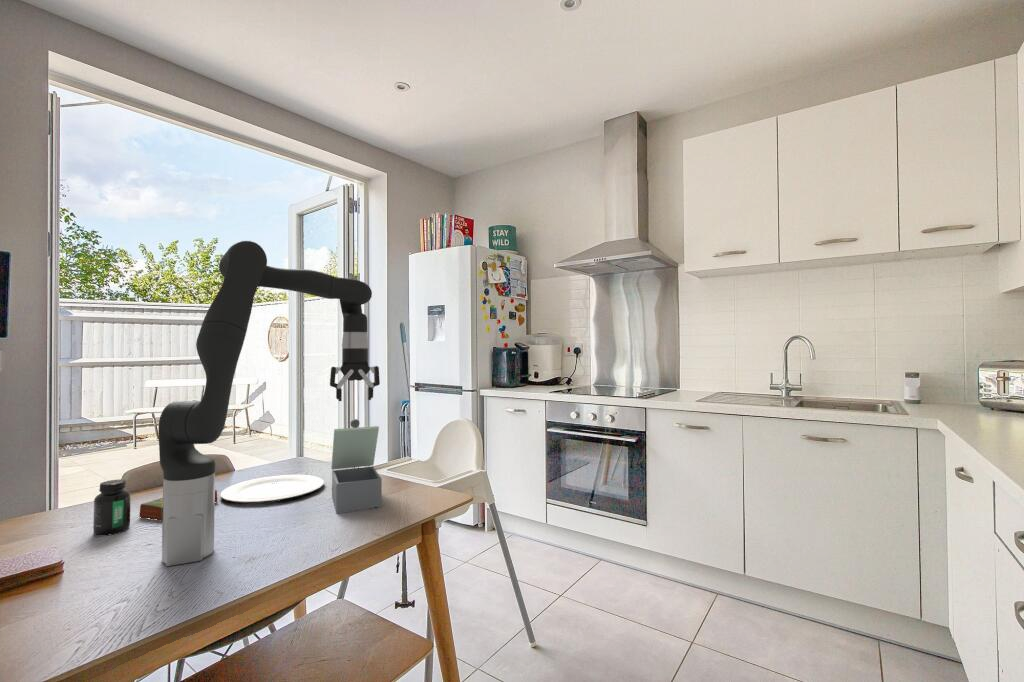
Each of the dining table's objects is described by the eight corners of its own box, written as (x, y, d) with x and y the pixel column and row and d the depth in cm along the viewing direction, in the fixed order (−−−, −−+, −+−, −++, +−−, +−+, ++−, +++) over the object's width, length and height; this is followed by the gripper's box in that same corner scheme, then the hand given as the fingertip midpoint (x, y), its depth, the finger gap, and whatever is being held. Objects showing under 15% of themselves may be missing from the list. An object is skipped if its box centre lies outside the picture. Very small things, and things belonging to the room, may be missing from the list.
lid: (378, 428, 137) (376, 413, 141) (334, 431, 131) (333, 416, 136) (373, 465, 145) (371, 450, 150) (331, 469, 140) (330, 454, 144)
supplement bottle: (125, 533, 112) (126, 483, 112) (88, 538, 109) (90, 487, 109) (133, 523, 118) (134, 476, 118) (98, 528, 115) (99, 480, 115)
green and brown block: (217, 503, 135) (218, 489, 135) (161, 523, 119) (161, 506, 120) (196, 500, 137) (196, 486, 137) (138, 519, 122) (139, 503, 122)
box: (381, 507, 130) (381, 478, 130) (336, 513, 125) (336, 483, 125) (372, 491, 145) (372, 466, 145) (331, 497, 140) (332, 470, 140)
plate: (342, 488, 149) (342, 482, 149) (250, 514, 125) (250, 507, 125) (293, 475, 166) (293, 470, 166) (202, 496, 142) (202, 490, 142)
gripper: (331, 347, 134) (330, 402, 134) (381, 347, 140) (381, 400, 140) (329, 347, 141) (329, 400, 140) (377, 347, 147) (377, 398, 146)
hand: (355, 400), depth 140 cm, fingers open, 8 cm apart
